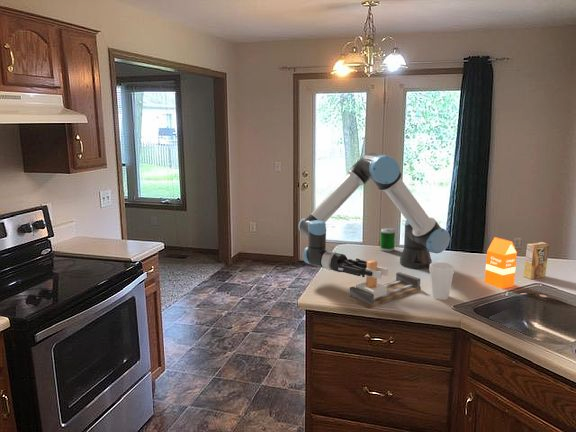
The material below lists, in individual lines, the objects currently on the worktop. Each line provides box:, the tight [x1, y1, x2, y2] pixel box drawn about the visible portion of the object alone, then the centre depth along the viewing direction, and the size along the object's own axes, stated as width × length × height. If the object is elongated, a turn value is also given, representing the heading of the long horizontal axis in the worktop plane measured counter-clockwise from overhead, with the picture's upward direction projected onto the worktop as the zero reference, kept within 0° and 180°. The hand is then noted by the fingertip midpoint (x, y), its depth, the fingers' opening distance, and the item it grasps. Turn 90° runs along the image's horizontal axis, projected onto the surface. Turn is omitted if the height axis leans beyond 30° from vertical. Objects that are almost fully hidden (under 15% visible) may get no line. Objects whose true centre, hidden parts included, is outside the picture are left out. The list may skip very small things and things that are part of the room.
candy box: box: [523, 241, 550, 280], centre depth 205 cm, size 9×4×15 cm, turn 110°
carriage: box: [355, 259, 387, 299], centre depth 181 cm, size 8×9×13 cm
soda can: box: [379, 227, 396, 253], centre depth 250 cm, size 8×8×12 cm
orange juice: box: [484, 236, 518, 290], centre depth 196 cm, size 8×9×20 cm
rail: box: [348, 271, 422, 309], centre depth 187 cm, size 31×11×5 cm, turn 127°
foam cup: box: [428, 261, 455, 301], centre depth 184 cm, size 10×9×13 cm
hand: (383, 273), depth 176 cm, fingers closed on carriage, 4 cm apart
